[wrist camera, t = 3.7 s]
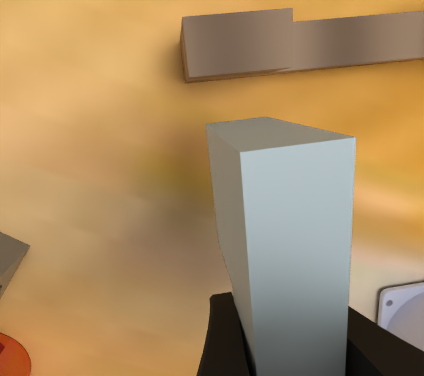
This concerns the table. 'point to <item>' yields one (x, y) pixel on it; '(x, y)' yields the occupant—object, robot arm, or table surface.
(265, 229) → the pale blue-gray block
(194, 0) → the table surface
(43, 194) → the table surface
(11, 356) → the paper cup
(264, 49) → the walnut u-shaped block
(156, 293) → the table surface
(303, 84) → the table surface
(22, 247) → the gray cube with hole
